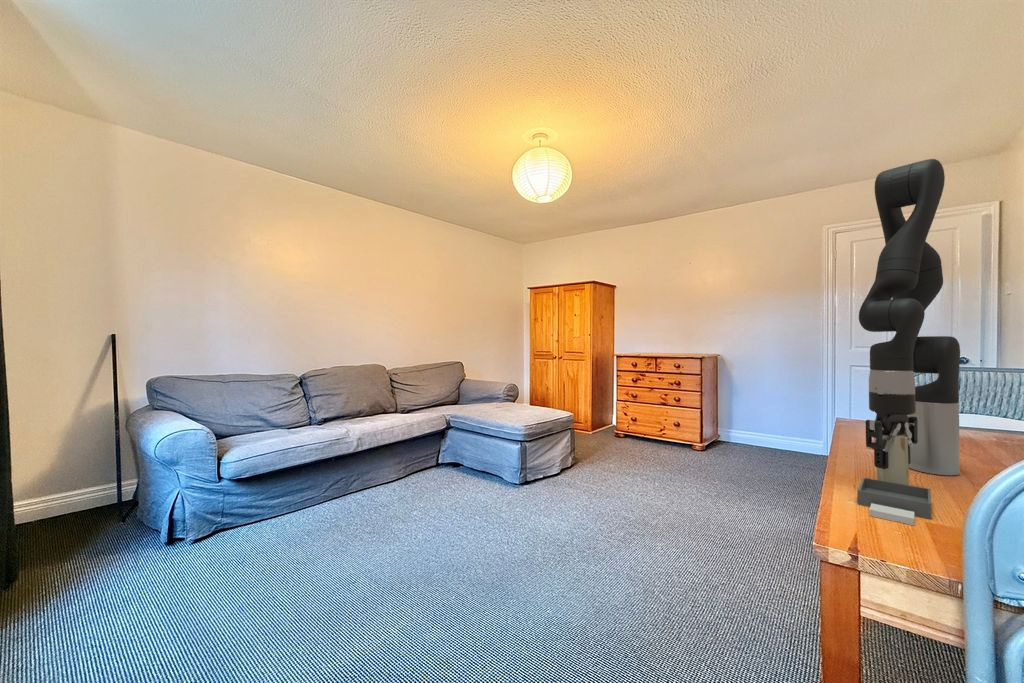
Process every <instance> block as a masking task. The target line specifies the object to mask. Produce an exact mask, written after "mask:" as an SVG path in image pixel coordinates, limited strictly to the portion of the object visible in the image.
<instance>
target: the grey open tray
mask: <svg viewBox="0 0 1024 683" xmlns="http://www.w3.org/2000/svg"><path fill="white" fill-rule="evenodd" d="M931 490H932V489H931V488H927V487H923V486H922V487H921V486H915V485H911V484H909V485H905V484H899V483H893V482H887V481H881V480H877V479H875V478H868V477H862V478H861V481H860V483H859V485H858V488H857V505H861V506H865V507H869V517H873V518H874V517H875V518H878V519H883V520H888V521H892V522H895V523H902V524H905V525H909V526H915V517H918V518H923V519H927V520H932V493H931Z"/></svg>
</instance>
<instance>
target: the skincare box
mask: <svg viewBox="0 0 1024 683" xmlns="http://www.w3.org/2000/svg"><path fill="white" fill-rule="evenodd" d="M882 436H885V437H888V435H882ZM883 444H884V440H883ZM887 452H888V468H887V469H881V468H877V467H876V480H881V481H887V482H893V483H899V484H905V485H910V477H909V474H910V472H909V471H910V470H909V469H910V468H909V466H908V437H906V436H905V435H896V437H895V440H894V442H893V443H891V444H890V446H889V448H888V451H887Z"/></svg>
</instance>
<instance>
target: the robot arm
mask: <svg viewBox="0 0 1024 683" xmlns="http://www.w3.org/2000/svg"><path fill="white" fill-rule="evenodd" d="M945 180H946V179H945V169H944V166H943V164H942V163H941V162H940V160H939V159H935V158H929V159H925V160H924V159H923V160H920V161H916V162H912V163H908V164H905V165H901V166H897V167H893V168H889V169H887V170H883V171H881V172H879V173H878V174H877V176H876V177H875V181H874V197H875V202H876V207H877V211H878V215H879V220H880V223H881V228H882V232H883V238H884V242H885V243H884V247H883V248H882V250H881V252H880V254H879V257H878V260H877V267H876V271H875V272H876V273H875V278H874V281H873V283H872V285H871V288H870V289H869V291H868V293H867V295H866V297H865V298H864V300H863V301H862V304H861V306H860V309H859V310H858V322H859V324H860V325H861V326H860V327H861V328H863V330H865V331H868V332H871V333H872V332H873V333H880V332H881V333H883V332H884V333H885V332H895V335H894V336H893V338H892V339H890V340H888V341H883V342H878V343H877V342H876V343H875V344H872V345H871V346H870V348H869V374H868V375H869V376H868V409H869V411H871V412H874V413H875V414H876V416H875V419H874V420H873V419H866V420H865V446H866V447H867V448H869V449H871V450H873V456H874V457H873V462H874V463H873V464H874V467H876V469H877V468H881V469H887V468H888V452H887V451H888V448H889V446H890V444H891V443H893V442H894V440H895V437H896V435H905V436H906V437H908V466H909V469H912V470H915V471H917V472H921V473H926V474H931V475H940V476H959V475H960V474H961V467H960V466H961V461H960V458H961V453H960V452H961V450H960V449H961V447H960V446H961V445H960V444H961V442H960V399H959V398H960V394H959V393H960V388H959V386H960V378H959V377H960V364H961V346H960V342H959V341H958V339H957V338H956V337H954V336H950V335H948V336H947V335H945V336H943V335H941V336H939V335H938V336H935V335H933V336H931V335H930V336H928V335H927V336H924V335H923V336H919V333H920V331H921V328H922V326H923V323H924V319H925V316H926V315H925V314H926V313H925V311H926V309H927V308H928V307H929V306H930V305H931V303H932V302H933V301H934V300H935V299H936V297H937V296H938V295H939V293H940V292H941V289H942V287H943V284H944V276H943V275H944V274H943V266H942V258H941V256H940V254H939V253H938V252H937V250H936V249H935V248H934V247H933V246H931V245H930V244H929V243H928V242H927V241H926V240H927V237H928V235H929V232H930V230H931V226H932V224H933V221H934V219H935V216H936V213H937V210H938V207H939V204H940V202H941V198H942V196H943V191H944V188H945V187H944V186H945ZM909 206H914V207H913V210H912V212H911V214H910V215H909V217H908V218H907V220H906V219H905V216H904V212H903V211H902V208H904V207H909ZM915 374H935V375H936V374H938V377H937V379H935V380H934V381H931V382H930V383H929V382H928V383H926V384H922V385H916V379H915V378H916V377H915ZM882 435H888V437H885V436H882ZM883 440H884V444H883Z"/></svg>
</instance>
